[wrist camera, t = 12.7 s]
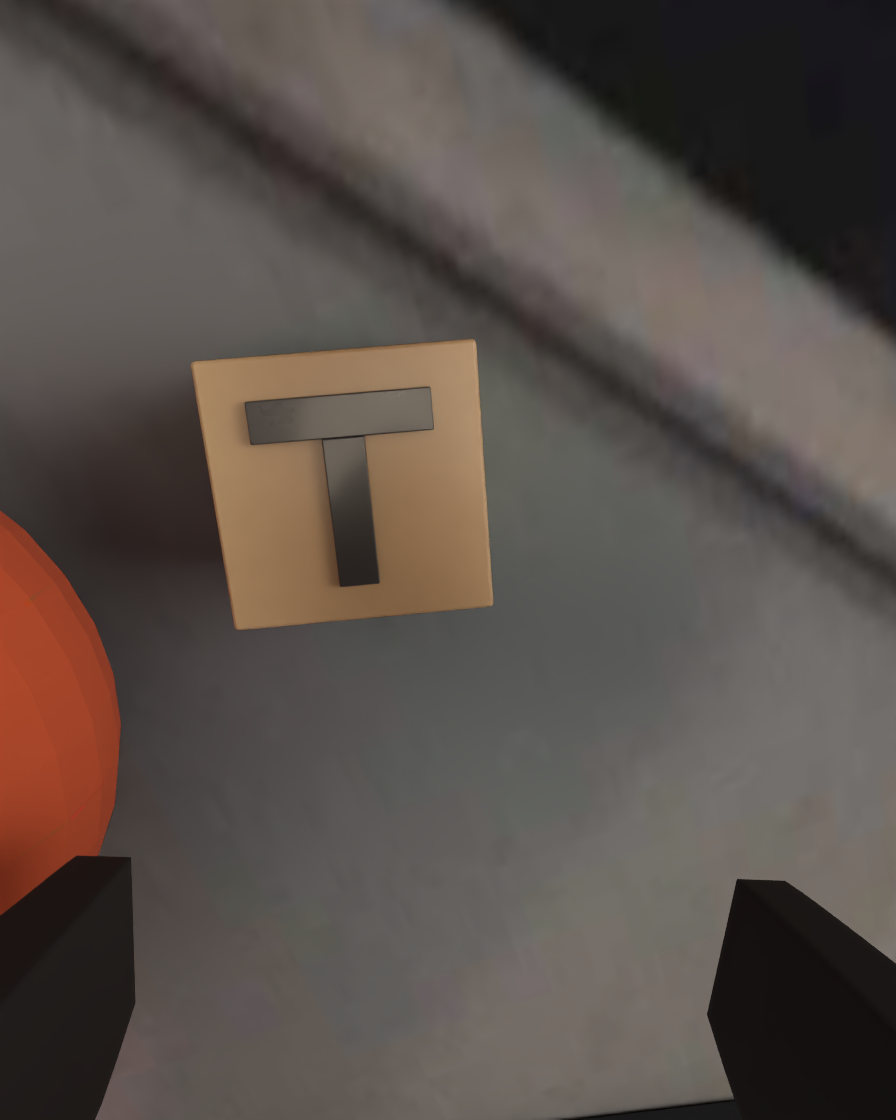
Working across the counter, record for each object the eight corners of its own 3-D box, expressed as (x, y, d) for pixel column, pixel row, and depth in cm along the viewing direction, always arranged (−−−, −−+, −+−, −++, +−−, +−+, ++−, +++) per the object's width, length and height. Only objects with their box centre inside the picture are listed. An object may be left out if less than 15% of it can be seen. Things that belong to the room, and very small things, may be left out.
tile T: (278, 562, 15) (231, 636, 11) (249, 362, 14) (184, 361, 10) (471, 545, 15) (495, 611, 11) (456, 346, 14) (477, 337, 10)
